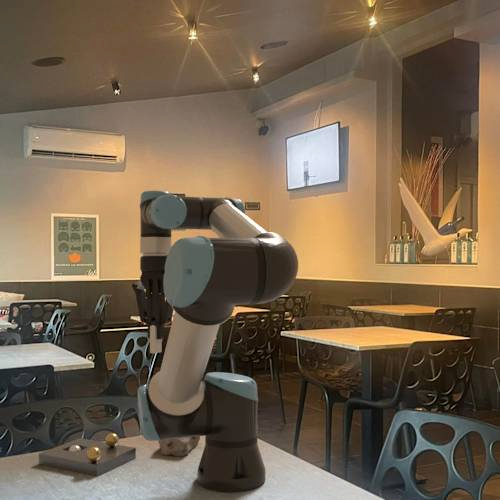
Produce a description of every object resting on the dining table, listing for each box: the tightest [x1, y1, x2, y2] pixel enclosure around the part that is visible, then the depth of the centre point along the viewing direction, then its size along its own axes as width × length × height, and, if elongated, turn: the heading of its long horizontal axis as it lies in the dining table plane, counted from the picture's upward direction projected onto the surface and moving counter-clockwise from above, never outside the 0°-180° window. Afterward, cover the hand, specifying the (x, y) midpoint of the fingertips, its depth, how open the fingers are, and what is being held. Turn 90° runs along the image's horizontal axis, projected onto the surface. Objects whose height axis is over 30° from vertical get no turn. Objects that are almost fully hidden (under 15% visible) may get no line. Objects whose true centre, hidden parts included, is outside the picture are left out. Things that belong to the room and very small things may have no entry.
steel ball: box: [68, 445, 81, 452], centre depth 150 cm, size 3×3×3 cm
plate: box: [38, 437, 137, 477], centre depth 148 cm, size 18×14×2 cm
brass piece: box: [87, 447, 101, 462], centre depth 141 cm, size 3×3×3 cm
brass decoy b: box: [104, 432, 120, 447], centre depth 152 cm, size 3×3×3 cm
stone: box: [157, 436, 201, 457], centre depth 157 cm, size 13×6×10 cm
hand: (155, 352), depth 148 cm, fingers closed
